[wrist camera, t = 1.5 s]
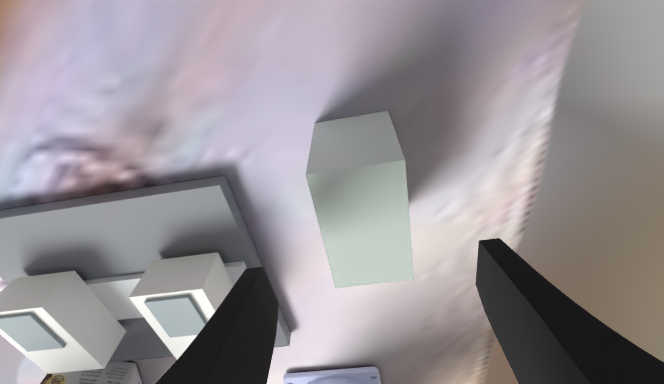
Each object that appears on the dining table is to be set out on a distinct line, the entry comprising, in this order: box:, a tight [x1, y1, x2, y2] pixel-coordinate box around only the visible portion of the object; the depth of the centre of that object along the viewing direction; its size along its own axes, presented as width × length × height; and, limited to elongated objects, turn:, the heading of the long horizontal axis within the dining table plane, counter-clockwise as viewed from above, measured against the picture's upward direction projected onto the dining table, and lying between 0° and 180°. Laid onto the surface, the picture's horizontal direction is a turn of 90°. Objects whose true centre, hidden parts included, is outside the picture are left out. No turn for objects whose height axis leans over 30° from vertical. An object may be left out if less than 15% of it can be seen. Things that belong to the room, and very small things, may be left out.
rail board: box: [0, 175, 291, 374], centre depth 21 cm, size 14×16×4 cm
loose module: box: [306, 111, 414, 288], centre depth 15 cm, size 6×4×5 cm, turn 10°
